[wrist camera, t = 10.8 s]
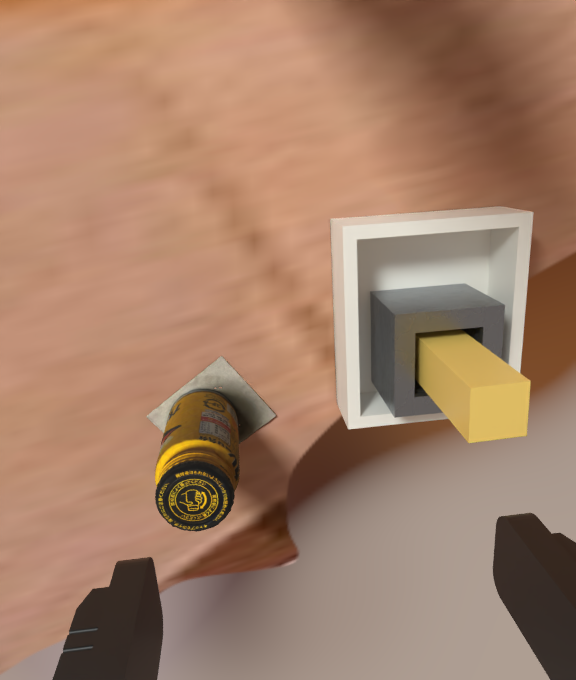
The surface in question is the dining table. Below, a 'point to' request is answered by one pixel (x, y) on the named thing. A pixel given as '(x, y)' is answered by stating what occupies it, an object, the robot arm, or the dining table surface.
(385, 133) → the dining table surface
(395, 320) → the socket
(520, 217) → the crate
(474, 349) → the plug
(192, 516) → the condiment
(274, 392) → the dining table surface
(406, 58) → the dining table surface
